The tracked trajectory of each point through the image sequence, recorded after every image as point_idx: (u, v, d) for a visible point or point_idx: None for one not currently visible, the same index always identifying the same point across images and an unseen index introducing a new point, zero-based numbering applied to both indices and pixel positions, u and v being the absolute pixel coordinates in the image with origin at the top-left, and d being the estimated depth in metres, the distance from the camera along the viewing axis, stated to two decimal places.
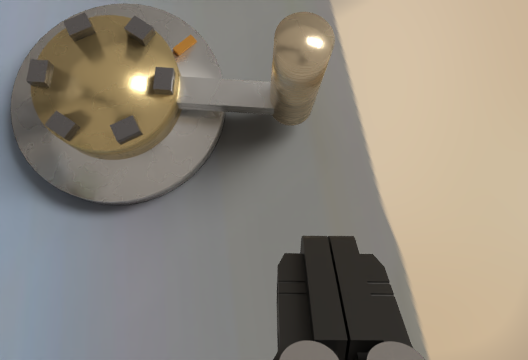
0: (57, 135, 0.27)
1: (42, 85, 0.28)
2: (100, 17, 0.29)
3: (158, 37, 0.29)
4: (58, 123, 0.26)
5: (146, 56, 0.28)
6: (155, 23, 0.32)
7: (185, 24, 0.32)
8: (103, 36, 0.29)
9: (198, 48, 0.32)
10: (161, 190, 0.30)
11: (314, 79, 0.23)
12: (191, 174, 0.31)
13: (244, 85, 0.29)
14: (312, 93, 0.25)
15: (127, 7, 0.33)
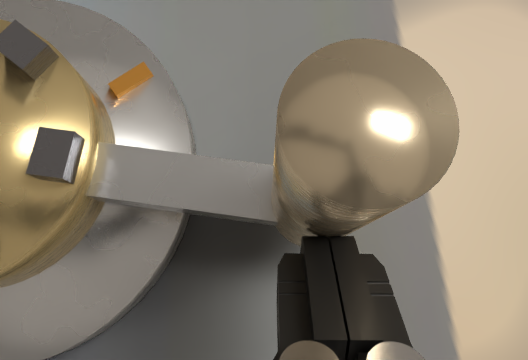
0: None
1: None
2: None
3: (62, 64, 0.15)
4: None
5: (34, 101, 0.14)
6: (85, 37, 0.18)
7: (138, 42, 0.18)
8: None
9: (154, 87, 0.18)
10: (45, 358, 0.15)
11: None
12: (112, 322, 0.16)
13: (222, 170, 0.15)
14: None
15: (43, 5, 0.19)
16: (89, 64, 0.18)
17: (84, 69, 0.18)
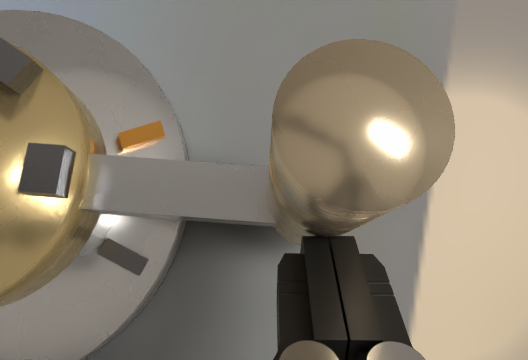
0: None
1: None
2: None
3: (47, 77, 0.14)
4: None
5: (21, 116, 0.14)
6: (113, 76, 0.18)
7: (162, 97, 0.17)
8: None
9: (162, 150, 0.17)
10: None
11: None
12: None
13: (217, 175, 0.15)
14: None
15: (83, 30, 0.18)
16: (107, 105, 0.17)
17: (101, 109, 0.17)
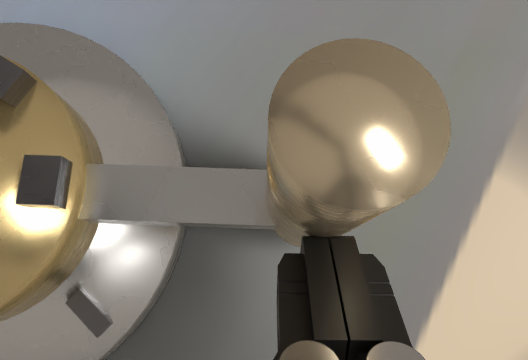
0: None
1: None
2: None
3: (41, 89, 0.14)
4: None
5: (16, 129, 0.14)
6: (135, 122, 0.17)
7: (176, 158, 0.17)
8: None
9: None
10: None
11: None
12: None
13: (214, 180, 0.15)
14: None
15: (120, 67, 0.18)
16: (120, 151, 0.17)
17: (113, 153, 0.17)
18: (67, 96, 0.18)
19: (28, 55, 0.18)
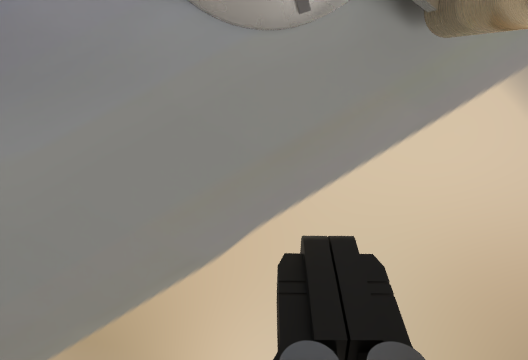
0: None
1: None
2: None
3: None
4: None
5: None
6: None
7: None
8: None
9: None
10: None
11: (527, 28, 0.19)
12: (211, 15, 0.25)
13: None
14: (501, 31, 0.21)
15: None
16: None
17: None
18: None
19: None
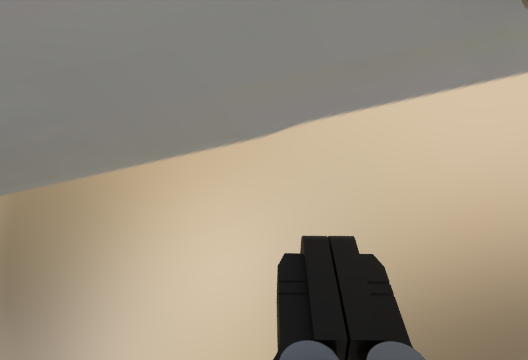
0: None
1: None
2: None
3: None
4: None
5: None
6: None
7: None
8: None
9: None
10: None
11: None
12: None
13: None
14: None
15: None
16: None
17: None
18: None
19: None
